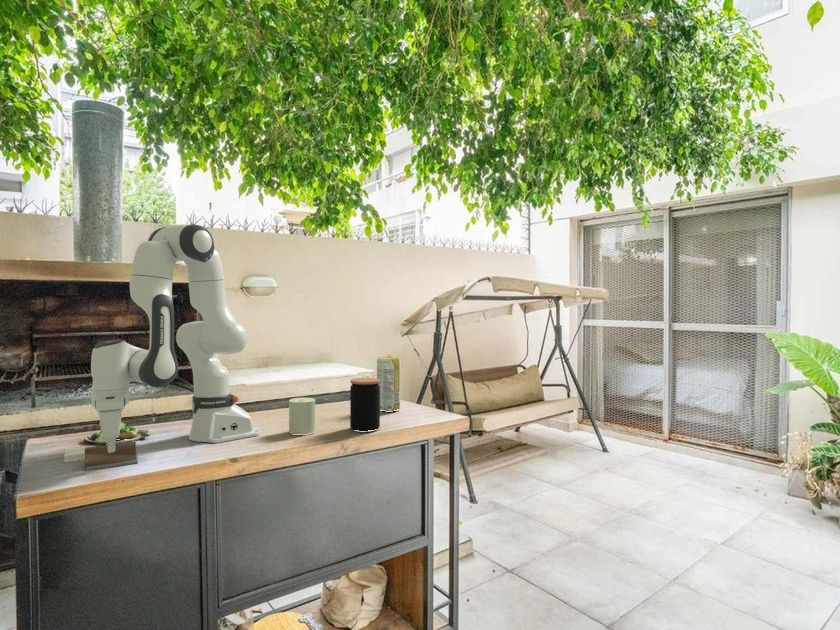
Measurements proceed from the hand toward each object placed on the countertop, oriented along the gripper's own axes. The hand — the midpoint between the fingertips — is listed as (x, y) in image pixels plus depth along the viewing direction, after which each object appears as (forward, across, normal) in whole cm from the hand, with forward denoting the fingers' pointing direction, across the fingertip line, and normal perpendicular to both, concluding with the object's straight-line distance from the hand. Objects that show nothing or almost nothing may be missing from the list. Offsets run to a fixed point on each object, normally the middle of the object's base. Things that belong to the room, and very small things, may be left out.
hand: (111, 447), depth 138 cm
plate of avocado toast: (+6, -29, +1) cm, 30 cm away
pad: (+4, +1, 0) cm, 5 cm away
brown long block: (+4, +1, 0) cm, 4 cm away
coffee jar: (+6, 0, +78) cm, 78 cm away
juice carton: (+7, -23, +99) cm, 102 cm away
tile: (+4, -7, -8) cm, 11 cm away
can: (+6, -6, +56) cm, 57 cm away
